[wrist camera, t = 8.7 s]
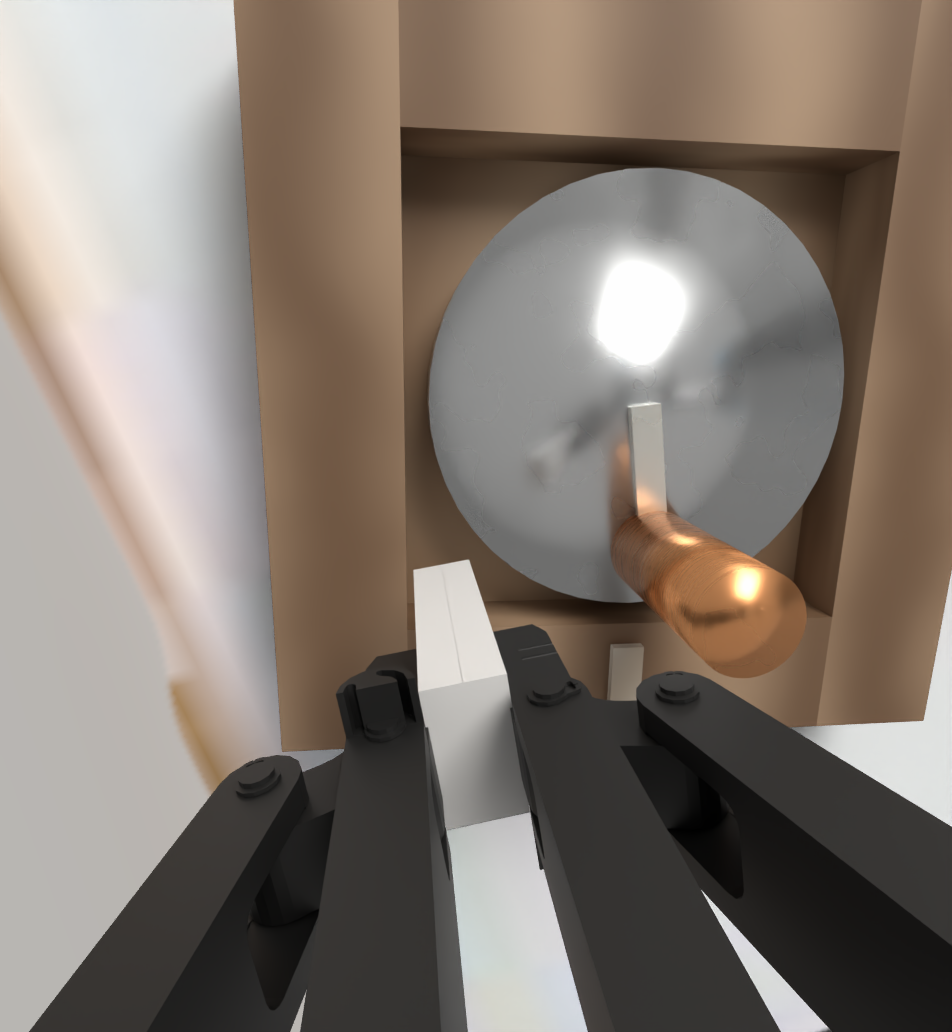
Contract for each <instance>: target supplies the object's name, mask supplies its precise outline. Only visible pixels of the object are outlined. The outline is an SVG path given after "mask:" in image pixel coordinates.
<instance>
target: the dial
mask: <svg viewBox="0 0 952 1032" xmlns="http://www.w3.org/2000/svg"><path fill="white" fill-rule="evenodd" d="M843 384H844V360H843V345H842V339H841V333H840V327H839V322H838V318H837V314H836V311H835V308H834V305H833V301H832V298H831V295H830V292H829V290H828V288H827V286H826V284H825V281H824V279H823V277H822V275H821V273H820V271H819V269H818V267H817V265H816V264H815V262H814V261H813V259H812V257H811V256H810V254H809V253H808V251H807V250H806V248H805V247H804V245H803V244H802V243H801V241H800V240H799V239H798V238H797V237H796V236H795V234H794V233H793V232H792V231H791V230H790V229H789V228H788V226H787V225H786V224H785V223H784V222H783V221H782V220H780V219H779V218H778V217H777V216H776V215H775V214H774V213H772V212H771V211H770V210H769V209H768V208H767V207H765V206H764V205H763V204H761V203H760V202H758V201H757V200H755V199H753V198H752V197H750V196H749V195H747V194H746V193H744V192H742V191H741V190H739V189H737V188H734V187H732V186H730V185H728V184H725V183H723V182H721V181H718V180H716V179H714V178H710V177H706V176H703V175H699V174H695V173H692V172H688V171H682V170H673V169H664V168H635V169H624V170H619V171H613V172H608V173H602V174H598V175H595V176H592V177H589V178H586V179H583V180H580V181H577V182H574V183H571V184H569V185H567V186H565V187H563V188H561V189H559V190H557V191H555V192H553V193H551V194H549V195H547V196H545V197H543V198H541V199H540V200H539V201H537V202H536V203H534V204H533V205H531V206H530V207H528V208H527V209H526V210H524V211H523V212H521V213H520V214H518V215H517V216H516V217H515V218H514V219H513V220H512V221H510V222H509V223H508V224H507V225H506V226H505V227H504V228H503V229H502V230H501V231H499V232H498V233H497V234H496V235H495V236H494V237H493V239H492V240H491V241H490V242H489V243H488V244H487V246H486V247H485V248H484V249H483V250H482V252H481V253H480V254H479V255H478V256H477V257H476V259H475V260H474V262H473V263H472V265H471V266H470V268H469V269H468V271H467V273H466V274H465V276H464V277H463V279H462V280H461V282H460V283H459V285H458V287H457V288H456V290H455V292H454V293H453V295H452V298H451V300H450V302H449V304H448V306H447V308H446V310H445V312H444V315H443V317H442V319H441V322H440V325H439V328H438V331H437V334H436V338H435V341H434V344H433V349H432V354H431V359H430V365H429V370H428V386H427V407H428V420H429V428H430V432H431V437H432V442H433V447H434V451H435V454H436V458H437V460H438V463H439V466H440V469H441V472H442V475H443V478H444V481H445V483H446V486H447V488H448V490H449V492H450V493H451V495H452V497H453V499H454V501H455V503H456V505H457V507H458V509H459V511H460V512H461V513H462V515H463V516H464V518H465V519H466V521H467V522H468V524H469V525H470V527H471V528H472V529H473V531H474V532H475V533H476V534H477V535H478V536H479V537H480V538H481V540H482V541H483V542H484V543H485V544H486V545H487V546H488V547H489V548H490V549H491V550H492V551H493V552H494V553H495V554H496V555H498V556H499V557H500V558H501V559H502V560H504V561H505V562H506V563H507V564H508V565H510V566H511V567H512V568H514V569H515V570H517V571H519V572H520V573H522V574H523V575H525V576H527V577H528V578H530V579H531V580H533V581H535V582H538V583H540V584H542V585H544V586H546V587H549V588H551V589H553V590H555V591H558V592H562V593H565V594H568V595H572V596H575V597H578V598H583V599H589V600H595V601H601V602H621V603H632V602H643V601H644V602H645V603H646V604H647V605H648V606H649V607H650V608H651V609H652V610H653V611H654V612H655V613H656V614H657V615H658V616H659V617H660V618H661V619H662V620H663V621H664V622H665V623H666V624H667V625H668V626H669V627H670V628H671V629H672V630H673V631H674V632H675V633H676V634H677V635H678V636H679V637H680V638H681V639H682V640H683V641H684V642H685V643H686V644H687V645H688V646H689V647H690V648H691V649H692V650H693V651H694V652H695V653H696V654H697V655H698V656H699V657H700V658H701V659H702V660H703V661H704V662H705V663H706V664H707V665H709V666H710V667H711V668H712V669H713V670H715V671H717V672H718V673H720V674H723V675H725V676H729V677H733V678H753V677H757V676H761V675H763V674H766V673H768V672H770V671H772V670H774V669H776V668H777V667H779V666H780V665H781V664H783V663H784V662H785V661H786V660H787V659H788V658H789V657H790V656H791V655H792V654H793V652H794V651H795V650H796V648H797V646H798V645H799V643H800V641H801V639H802V637H803V634H804V631H805V626H806V619H807V612H806V605H805V601H804V598H803V595H802V594H801V592H800V590H799V589H798V587H797V586H796V585H795V583H793V582H792V581H791V580H790V579H789V578H788V577H786V576H785V575H783V574H781V573H779V572H778V571H776V570H774V569H772V568H770V567H769V566H767V565H765V564H763V563H761V562H760V561H758V560H756V559H754V558H752V557H754V556H755V555H756V554H757V553H758V552H760V551H761V550H762V549H763V548H764V547H766V546H767V545H768V544H769V543H770V542H771V541H772V540H773V539H774V538H775V537H776V536H777V535H778V534H779V533H780V532H781V531H782V530H783V529H784V527H785V526H786V525H787V524H788V523H789V522H790V520H791V519H792V518H793V516H794V515H795V514H796V512H797V511H798V510H799V509H800V507H801V506H802V505H803V503H804V502H805V500H806V498H807V497H808V495H809V493H810V492H811V490H812V488H813V487H814V485H815V483H816V481H817V480H818V477H819V475H820V473H821V471H822V469H823V466H824V464H825V462H826V460H827V458H828V455H829V452H830V449H831V446H832V443H833V440H834V437H835V433H836V430H837V426H838V421H839V416H840V411H841V405H842V398H843Z"/></svg>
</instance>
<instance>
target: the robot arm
mask: <svg viewBox="0 0 952 1032" xmlns="http://www.w3.org/2000/svg"><path fill="white" fill-rule="evenodd" d="M413 572H414V598H415V623H416V649H413V650H407V651H402V652H397V653H392V654H387V655H382V656H377V657H376V658H375V659H374V660H373V662H372V663H371V664H370V665H369V666H368V667H367V669H366V671H364V672H361V673H359V674H357V675H355V676H353V677H351V678H349V679H348V680H347V681H346V682H344V683H343V684H342V685H341V686H340V687H339V689H338V691H337V692H336V698H337V702H338V706H339V710H340V714H341V719H342V723H343V727H344V731H345V735H346V741H345V748H344V752H343V753H341V754H340V755H338V756H337V757H335V758H334V759H332V760H330V761H328V762H326V763H324V764H322V765H320V766H317V767H315V768H312V769H310V770H307V771H305V772H303V773H302V769H301V766H300V764H299V761H298V760H296V759H294V758H292V757H290V756H279V755H276V756H270V757H262V758H259V759H256V760H255V761H251V762H248V763H246V764H244V765H243V766H242V767H240V768H239V769H237V770H235V771H234V772H232V773H231V774H230V775H229V776H228V777H227V778H226V779H224V780H223V781H222V782H221V783H220V785H219V786H218V787H217V788H216V790H215V791H214V792H213V794H212V795H211V796H210V797H209V799H208V800H207V801H206V803H205V804H204V806H203V807H202V808H201V809H200V810H199V812H198V813H197V814H196V816H195V817H194V818H193V820H192V821H191V822H190V824H189V825H188V826H187V828H186V829H185V830H184V831H183V833H182V834H181V835H180V836H179V838H178V839H177V840H176V842H175V843H174V844H173V846H172V847H171V848H170V849H169V851H168V852H167V853H166V855H165V856H164V857H163V858H162V860H161V861H160V863H159V864H158V865H157V866H156V868H155V869H154V870H153V871H152V873H151V874H150V875H149V877H148V878H147V879H146V881H145V882H144V883H143V884H142V886H141V887H140V888H139V890H138V891H137V892H136V894H135V895H134V896H133V897H132V899H131V900H130V901H129V903H128V904H127V905H126V907H125V908H124V909H123V910H122V912H121V913H120V914H119V916H118V917H117V918H116V920H115V921H114V922H113V924H112V925H111V926H110V928H109V929H108V930H107V931H106V932H105V934H104V935H103V936H102V938H101V939H100V940H99V942H98V943H97V944H96V946H95V947H94V948H93V949H92V951H91V952H90V953H89V955H88V956H87V957H86V959H85V960H84V961H83V962H82V964H81V965H80V966H79V968H78V969H77V970H76V971H75V973H74V974H73V975H72V977H71V978H70V979H69V981H68V982H67V983H66V984H65V986H64V987H63V988H62V990H61V991H60V992H59V994H58V995H57V996H56V997H55V999H54V1000H53V1001H52V1003H51V1004H50V1005H49V1006H48V1008H47V1009H46V1011H45V1012H44V1013H43V1014H42V1016H41V1017H40V1018H39V1019H38V1021H37V1022H36V1023H35V1025H34V1026H33V1027H32V1029H31V1030H30V1031H29V1032H290V1031H291V1028H292V1026H293V1023H294V1020H295V1018H296V1015H297V1013H298V1010H299V1007H300V1005H301V1002H302V1000H303V997H304V995H305V992H306V998H305V1004H304V1011H303V1017H302V1024H301V1030H300V1032H468V1029H467V1019H466V1009H465V998H464V988H463V978H462V967H461V957H460V947H459V936H458V926H457V915H456V905H455V895H454V884H453V874H452V864H451V853H450V847H449V842H448V838H447V833H446V830H450V829H455V828H459V827H464V826H469V825H473V824H478V823H482V822H487V821H491V820H496V819H501V818H505V817H510V816H514V815H519V814H524V813H528V812H530V813H531V819H532V825H533V831H534V837H535V843H536V849H537V855H538V861H539V867H540V870H542V869H544V872H545V875H546V879H547V883H548V886H549V890H550V894H551V898H552V901H553V905H554V909H555V912H556V916H557V920H558V923H559V927H560V931H561V934H562V938H563V942H564V945H565V949H566V953H567V956H568V960H569V964H570V967H571V971H572V975H573V978H574V982H575V986H576V989H577V993H578V997H579V1000H580V1004H581V1008H582V1011H583V1015H584V1019H585V1022H586V1026H587V1030H588V1032H781V1031H780V1030H779V1028H778V1026H777V1024H776V1023H775V1021H774V1019H773V1017H772V1015H771V1014H770V1012H769V1010H768V1008H767V1007H766V1005H765V1003H764V1001H763V999H762V998H761V996H760V994H759V992H758V990H757V989H756V987H755V985H754V983H753V982H752V980H751V978H750V976H749V974H748V973H747V971H746V969H745V967H744V966H743V964H742V962H741V960H740V958H739V957H738V955H737V953H736V951H735V950H734V948H733V946H732V944H731V942H730V941H729V939H728V937H727V935H726V934H725V932H724V930H723V928H722V926H721V925H720V923H719V921H718V919H717V918H716V916H715V914H714V912H713V910H712V909H711V907H710V905H709V903H708V902H707V900H706V898H705V896H704V894H703V893H702V891H703V892H704V893H705V894H706V895H707V896H708V897H709V899H710V900H711V901H712V902H713V903H714V904H715V905H716V906H717V907H718V908H719V909H720V910H721V912H722V913H723V914H724V915H725V916H726V917H727V918H728V919H729V920H730V921H731V922H732V923H733V925H734V926H735V927H736V928H737V929H738V930H739V931H740V932H741V933H742V934H743V935H744V936H745V938H746V939H747V940H748V941H749V942H750V943H751V944H752V945H753V946H754V947H755V948H756V949H757V951H758V952H759V953H760V954H761V955H762V956H763V957H764V958H765V959H766V960H767V961H768V963H769V964H770V965H771V966H772V967H773V968H774V969H775V970H776V971H777V972H778V973H779V974H780V976H781V977H782V978H783V979H784V980H785V981H786V982H787V983H788V984H789V985H790V986H791V987H792V989H793V990H794V991H795V992H796V993H797V994H798V995H799V996H800V997H801V998H802V999H803V1000H804V1002H805V1003H806V1004H807V1005H808V1006H809V1007H810V1008H811V1009H812V1010H813V1011H814V1012H815V1013H816V1015H817V1016H818V1017H819V1018H820V1019H821V1020H822V1021H823V1022H824V1023H825V1024H826V1025H827V1027H828V1028H829V1029H830V1030H831V1031H832V1032H952V827H951V826H949V825H948V824H946V823H945V822H943V821H941V820H940V819H938V818H936V817H935V816H933V815H931V814H930V813H928V812H927V811H925V810H923V809H922V808H920V807H918V806H917V805H915V804H913V803H912V802H910V801H909V800H907V799H905V798H904V797H902V796H900V795H899V794H897V793H895V792H894V791H892V790H891V789H889V788H887V787H886V786H884V785H882V784H881V783H879V782H877V781H876V780H874V779H873V778H871V777H869V776H868V775H866V774H864V773H863V772H861V771H859V770H858V769H856V768H855V767H853V766H851V765H850V764H848V763H846V762H845V761H843V760H841V759H840V758H838V757H837V756H835V755H833V754H832V753H830V752H828V751H827V750H825V749H823V748H822V747H820V746H819V745H817V744H815V743H814V742H812V741H810V740H809V739H807V738H805V737H804V736H802V735H801V734H799V733H797V732H796V731H794V730H792V729H791V728H789V727H787V726H786V725H784V724H783V723H781V722H779V721H778V720H776V719H774V718H773V717H771V716H770V715H768V714H766V713H765V712H763V711H761V710H760V709H758V708H756V707H755V706H753V705H752V704H750V703H748V702H747V701H745V700H743V699H742V698H740V697H738V696H737V695H735V694H734V693H732V692H730V691H729V690H727V689H725V688H724V687H722V686H720V685H719V684H717V683H716V682H714V681H712V680H711V679H708V678H706V677H704V676H701V675H699V674H694V673H688V672H684V671H675V672H673V671H668V672H664V673H661V674H656V675H653V676H651V677H649V678H647V679H645V680H643V681H642V682H641V683H640V684H639V686H638V687H637V688H636V699H637V700H632V701H614V700H603V699H598V698H594V697H592V695H591V694H590V692H589V690H588V688H587V687H586V686H585V685H584V684H583V683H582V682H581V681H579V680H576V679H574V678H571V677H570V675H569V673H568V671H567V669H566V668H565V666H564V664H563V662H562V660H561V658H560V656H559V654H558V653H557V651H556V649H555V647H554V645H553V644H552V641H551V639H550V638H549V636H548V634H547V632H546V631H544V630H543V629H541V628H539V627H537V626H535V625H533V624H530V625H525V626H520V627H515V628H510V629H504V630H499V631H494V632H493V631H492V628H491V625H490V622H489V619H488V616H487V612H486V609H485V606H484V603H483V600H482V597H481V594H480V591H479V588H478V585H477V582H476V579H475V576H474V573H473V570H472V567H471V564H470V561H469V560H463V561H458V562H453V563H448V564H442V565H437V566H432V567H426V568H421V569H416V570H413ZM528 803H529V804H528ZM529 807H530V810H529ZM445 825H446V828H445ZM701 890H702V891H701ZM306 990H307V991H306Z"/></svg>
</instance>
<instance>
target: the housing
mask: <svg viewBox="0 0 952 1032" xmlns="http://www.w3.org/2000/svg"><path fill="white" fill-rule="evenodd" d="M234 15H235V30H236V46H237V61H238V77H239V92H240V108H241V123H242V139H243V154H244V170H245V185H246V201H247V216H248V232H249V247H250V263H251V278H252V294H253V309H254V325H255V340H256V356H257V371H258V387H259V402H260V418H261V433H262V449H263V464H264V480H265V495H266V511H267V526H268V542H269V557H270V573H271V588H272V604H273V620H274V635H275V651H276V666H277V682H278V697H279V713H280V728H281V744H282V752H287V751H308V750H329V749H344V748H345V741H346V735H345V731H344V727H343V723H342V719H341V714H340V710H339V706H338V702H337V698H336V692H337V691H338V689H339V687H340V686H341V685H342V684H343V683H344V682H346V681H347V680H348V679H349V678H351V677H353V676H355V675H357V674H359V673H361V672H364V671H366V669H367V667H368V666H369V665H370V664H371V663H372V662H373V660H374V659H375V658H376V657H377V656H382V655H387V654H392V653H397V652H402V651H407V650H413V649H416V623H415V598H414V572H413V570H416V569H421V568H426V567H432V566H437V565H442V564H448V563H453V562H458V561H463V560H469V561H470V564H471V567H472V570H473V573H474V576H475V579H476V582H477V585H478V588H479V591H480V594H481V597H482V600H483V603H484V606H485V609H486V612H487V616H488V619H489V622H490V625H491V628H492V631H493V632H494V631H499V630H504V629H510V628H515V627H520V626H525V625H530V624H533V625H535V626H537V627H539V628H541V629H543V630H544V631H546V632H547V634H548V636H549V638H550V639H551V641H552V644H553V645H554V647H555V649H556V651H557V653H558V654H559V656H560V658H561V660H562V662H563V664H564V666H565V668H566V669H567V671H568V673H569V675H570V677H571V678H574V679H576V680H579V681H581V682H582V683H583V684H584V685H585V686H586V687H587V688H588V690H589V692H590V694H591V695H592V697H594V698H598V699H603V700H614V701H632V700H637V699H636V688H637V687H638V686H639V684H640V683H641V682H642V681H643V680H645V679H647V678H649V677H651V676H653V675H656V674H661V673H664V672H668V671H673V672H675V671H684V672H688V673H694V674H699V675H701V676H704V677H706V678H708V679H711V680H712V681H714V682H716V683H717V684H719V685H720V686H722V687H724V688H725V689H727V690H729V691H730V692H732V693H734V694H735V695H737V696H738V697H740V698H742V699H743V700H745V701H747V702H748V703H750V704H752V705H753V706H755V707H756V708H758V709H760V710H761V711H763V712H765V713H766V714H768V715H770V716H771V717H773V718H774V719H776V720H778V721H779V722H781V723H783V724H784V725H786V726H787V727H805V726H825V725H846V724H867V723H888V722H908V721H923V720H924V715H925V710H926V704H927V699H928V694H929V688H930V683H931V677H932V672H933V667H934V661H935V656H936V651H937V645H938V640H939V635H940V629H941V624H942V619H943V613H944V608H945V603H946V597H947V592H948V587H949V581H950V576H951V571H952V0H234ZM635 168H664V169H673V170H682V171H688V172H692V173H695V174H699V175H703V176H706V177H710V178H714V179H716V180H718V181H721V182H723V183H725V184H728V185H730V186H732V187H734V188H737V189H739V190H741V191H742V192H744V193H746V194H747V195H749V196H750V197H752V198H753V199H755V200H757V201H758V202H760V203H761V204H763V205H764V206H765V207H767V208H768V209H769V210H770V211H771V212H772V213H774V214H775V215H776V216H777V217H778V218H779V219H780V220H782V221H783V222H784V223H785V224H786V225H787V226H788V228H789V229H790V230H791V231H792V232H793V233H794V234H795V236H796V237H797V238H798V239H799V240H800V241H801V243H802V244H803V245H804V247H805V248H806V250H807V251H808V253H809V254H810V256H811V257H812V259H813V261H814V262H815V264H816V265H817V267H818V269H819V271H820V273H821V275H822V277H823V279H824V281H825V284H826V286H827V288H828V290H829V292H830V295H831V298H832V301H833V305H834V308H835V311H836V314H837V318H838V322H839V327H840V333H841V339H842V345H843V360H844V384H843V398H842V405H841V411H840V416H839V421H838V426H837V430H836V433H835V437H834V440H833V443H832V446H831V449H830V452H829V455H828V458H827V460H826V462H825V464H824V466H823V469H822V471H821V473H820V475H819V477H818V480H817V481H816V483H815V485H814V487H813V488H812V490H811V492H810V493H809V495H808V497H807V498H806V500H805V502H804V503H803V505H802V506H801V507H800V509H799V510H798V511H797V512H796V514H795V515H794V516H793V518H792V519H791V520H790V522H789V523H788V524H787V525H786V526H785V527H784V529H783V530H782V531H781V532H780V533H779V534H778V535H777V536H776V537H775V538H774V539H773V540H772V541H771V542H770V543H769V544H768V545H767V546H766V547H764V548H763V549H762V550H761V551H760V552H758V553H757V554H756V555H755V556H754V557H752V558H754V559H756V560H758V561H760V562H761V563H763V564H765V565H767V566H769V567H770V568H772V569H774V570H776V571H778V572H779V573H781V574H783V575H785V576H786V577H788V578H789V579H790V580H791V581H792V582H793V583H795V585H796V586H797V587H798V589H799V590H800V592H801V594H802V595H803V598H804V601H805V605H806V612H807V619H806V626H805V631H804V634H803V637H802V639H801V641H800V643H799V645H798V646H797V648H796V650H795V651H794V652H793V654H792V655H791V656H790V657H789V658H788V659H787V660H786V661H785V662H784V663H783V664H781V665H780V666H779V667H777V668H776V669H774V670H772V671H770V672H768V673H766V674H763V675H761V676H757V677H753V678H733V677H729V676H725V675H723V674H720V673H718V672H717V671H715V670H713V669H712V668H711V667H710V666H709V665H707V664H706V663H705V662H704V661H703V660H702V659H701V658H700V657H699V656H698V655H697V654H696V653H695V652H694V651H693V650H692V649H691V648H690V647H689V646H688V645H687V644H686V643H685V642H684V641H683V640H682V639H681V638H680V637H679V636H678V635H677V634H676V633H675V632H674V631H673V630H672V629H671V628H670V627H669V626H668V625H667V624H666V623H665V622H664V621H663V620H662V619H661V618H660V617H659V616H658V615H657V614H656V613H655V612H654V611H653V610H652V609H651V608H650V607H649V606H648V605H647V604H646V603H645V602H644V601H643V602H632V603H621V602H601V601H595V600H589V599H583V598H578V597H575V596H572V595H568V594H565V593H562V592H558V591H555V590H553V589H551V588H549V587H546V586H544V585H542V584H540V583H538V582H535V581H533V580H531V579H530V578H528V577H527V576H525V575H523V574H522V573H520V572H519V571H517V570H515V569H514V568H512V567H511V566H510V565H508V564H507V563H506V562H505V561H504V560H502V559H501V558H500V557H499V556H498V555H496V554H495V553H494V552H493V551H492V550H491V549H490V548H489V547H488V546H487V545H486V544H485V543H484V542H483V541H482V540H481V538H480V537H479V536H478V535H477V534H476V533H475V532H474V531H473V529H472V528H471V527H470V525H469V524H468V522H467V521H466V519H465V518H464V516H463V515H462V513H461V512H460V511H459V509H458V507H457V505H456V503H455V501H454V499H453V497H452V495H451V493H450V492H449V490H448V488H447V486H446V483H445V481H444V478H443V475H442V472H441V469H440V466H439V463H438V460H437V458H436V454H435V451H434V447H433V442H432V437H431V432H430V428H429V420H428V407H427V386H428V370H429V365H430V359H431V354H432V349H433V344H434V341H435V338H436V334H437V331H438V328H439V325H440V322H441V319H442V317H443V315H444V312H445V310H446V308H447V306H448V304H449V302H450V300H451V298H452V295H453V293H454V292H455V290H456V288H457V287H458V285H459V283H460V282H461V280H462V279H463V277H464V276H465V274H466V273H467V271H468V269H469V268H470V266H471V265H472V263H473V262H474V260H475V259H476V257H477V256H478V255H479V254H480V253H481V252H482V250H483V249H484V248H485V247H486V246H487V244H488V243H489V242H490V241H491V240H492V239H493V237H494V236H495V235H496V234H497V233H498V232H499V231H501V230H502V229H503V228H504V227H505V226H506V225H507V224H508V223H509V222H510V221H512V220H513V219H514V218H515V217H516V216H517V215H518V214H520V213H521V212H523V211H524V210H526V209H527V208H528V207H530V206H531V205H533V204H534V203H536V202H537V201H539V200H540V199H541V198H543V197H545V196H547V195H549V194H551V193H553V192H555V191H557V190H559V189H561V188H563V187H565V186H567V185H569V184H571V183H574V182H577V181H580V180H583V179H586V178H589V177H592V176H595V175H598V174H602V173H608V172H613V171H619V170H624V169H635Z"/></svg>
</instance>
